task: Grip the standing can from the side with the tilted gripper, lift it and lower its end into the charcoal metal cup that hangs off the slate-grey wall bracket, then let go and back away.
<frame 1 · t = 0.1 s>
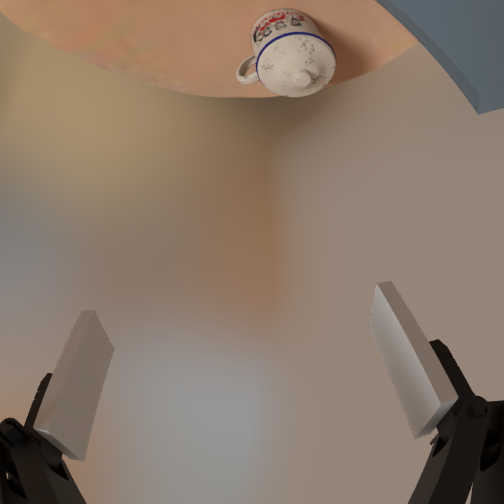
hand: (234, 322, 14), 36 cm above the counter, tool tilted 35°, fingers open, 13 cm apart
teacup with lid: (273, 38, 34), on the counter
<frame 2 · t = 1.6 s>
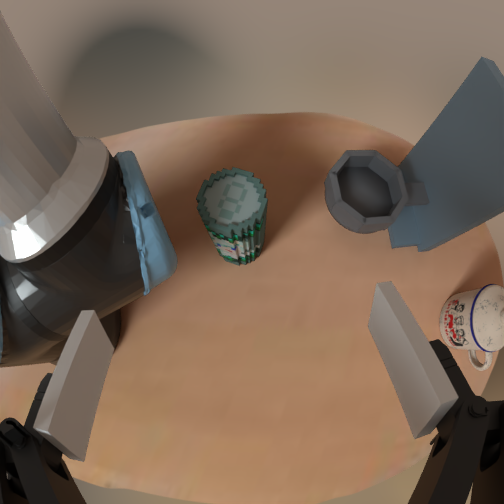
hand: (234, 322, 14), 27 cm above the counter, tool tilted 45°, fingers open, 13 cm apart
teacup with lid: (459, 330, 39), on the counter
cup bracket: (350, 211, 43), on the counter
can: (239, 242, 42), on the counter
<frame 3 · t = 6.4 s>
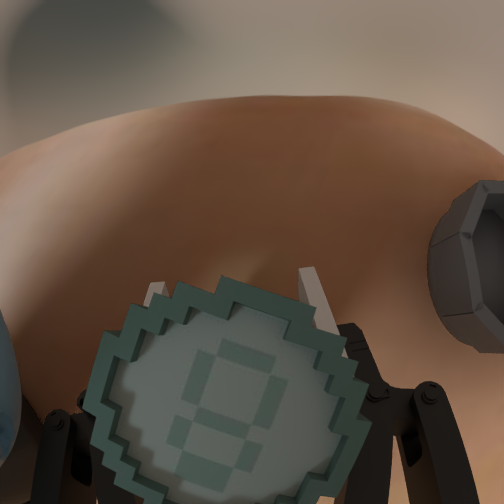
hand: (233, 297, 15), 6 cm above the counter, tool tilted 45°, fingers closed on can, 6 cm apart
cup bracket: (444, 284, 21), on the counter
can: (245, 357, 20), on the counter, touching gripper
when the fingers open (13 cm above the counter, at t = 14.1 s): can drops 1 cm, resting on cup bracket.
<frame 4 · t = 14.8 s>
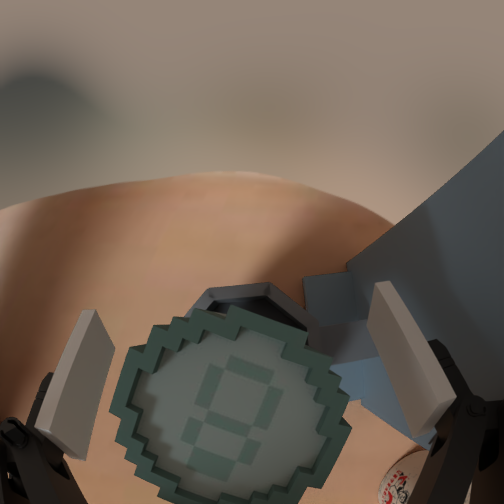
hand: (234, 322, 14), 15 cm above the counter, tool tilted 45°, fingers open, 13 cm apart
teacup with lid: (410, 490, 23), on the counter
cup bracket: (249, 349, 27), on the counter
can: (245, 358, 22), point 6 cm above the counter, touching cup bracket
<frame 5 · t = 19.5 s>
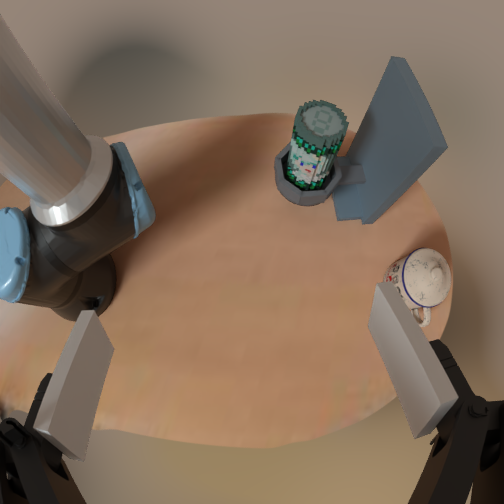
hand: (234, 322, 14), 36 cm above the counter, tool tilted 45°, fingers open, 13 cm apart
teacup with lid: (404, 293, 49), on the counter
cup bracket: (301, 191, 54), on the counter
can: (305, 177, 48), point 6 cm above the counter, touching cup bracket
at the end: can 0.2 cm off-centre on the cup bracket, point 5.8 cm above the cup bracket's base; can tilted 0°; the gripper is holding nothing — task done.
